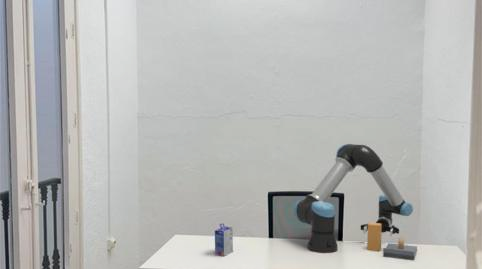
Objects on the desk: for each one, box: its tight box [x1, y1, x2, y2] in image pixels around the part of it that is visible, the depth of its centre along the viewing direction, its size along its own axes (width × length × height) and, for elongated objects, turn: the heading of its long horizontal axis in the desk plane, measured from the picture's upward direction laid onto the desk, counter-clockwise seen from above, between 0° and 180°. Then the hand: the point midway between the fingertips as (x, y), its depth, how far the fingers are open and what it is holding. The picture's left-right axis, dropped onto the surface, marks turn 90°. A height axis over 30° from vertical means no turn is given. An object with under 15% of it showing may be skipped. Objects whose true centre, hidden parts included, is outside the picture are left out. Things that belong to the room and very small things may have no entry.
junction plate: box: [382, 237, 418, 261], centre depth 230 cm, size 14×20×7 cm
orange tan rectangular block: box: [366, 222, 382, 252], centre depth 237 cm, size 6×6×13 cm
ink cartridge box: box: [214, 222, 234, 257], centre depth 225 cm, size 10×6×14 cm, turn 155°
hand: (377, 232), depth 244 cm, fingers open, 13 cm apart
